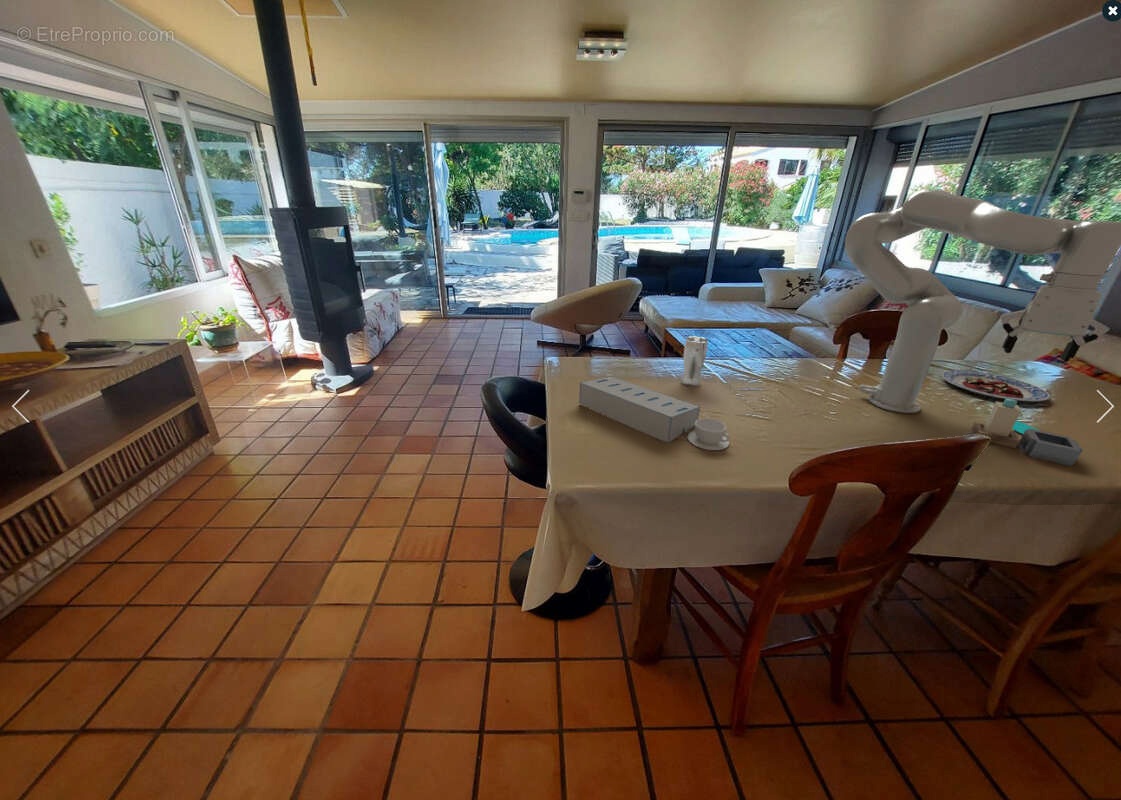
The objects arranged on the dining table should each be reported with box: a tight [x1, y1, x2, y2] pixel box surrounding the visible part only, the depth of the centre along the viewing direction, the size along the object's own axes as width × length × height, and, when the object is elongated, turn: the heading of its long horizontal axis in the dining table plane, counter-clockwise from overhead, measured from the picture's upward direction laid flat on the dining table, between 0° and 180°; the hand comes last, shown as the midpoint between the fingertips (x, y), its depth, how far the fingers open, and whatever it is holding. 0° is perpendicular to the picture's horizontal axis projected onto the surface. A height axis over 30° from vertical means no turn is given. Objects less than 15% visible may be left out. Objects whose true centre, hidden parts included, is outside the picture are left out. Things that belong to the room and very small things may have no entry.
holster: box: [971, 420, 1020, 449], centre depth 108 cm, size 8×8×2 cm
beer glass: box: [680, 336, 709, 387], centre depth 137 cm, size 7×7×15 cm
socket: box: [1018, 428, 1084, 467], centre depth 101 cm, size 8×8×4 cm
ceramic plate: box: [941, 369, 1051, 402], centre depth 138 cm, size 26×26×3 cm
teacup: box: [687, 417, 731, 451], centre depth 104 cm, size 10×10×5 cm
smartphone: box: [1012, 419, 1042, 437], centre depth 111 cm, size 7×1×15 cm
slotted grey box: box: [578, 376, 701, 444], centre depth 117 cm, size 30×14×8 cm, turn 45°
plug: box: [982, 399, 1022, 437], centre depth 107 cm, size 4×4×11 cm
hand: (1034, 355), depth 100 cm, fingers open, 9 cm apart
